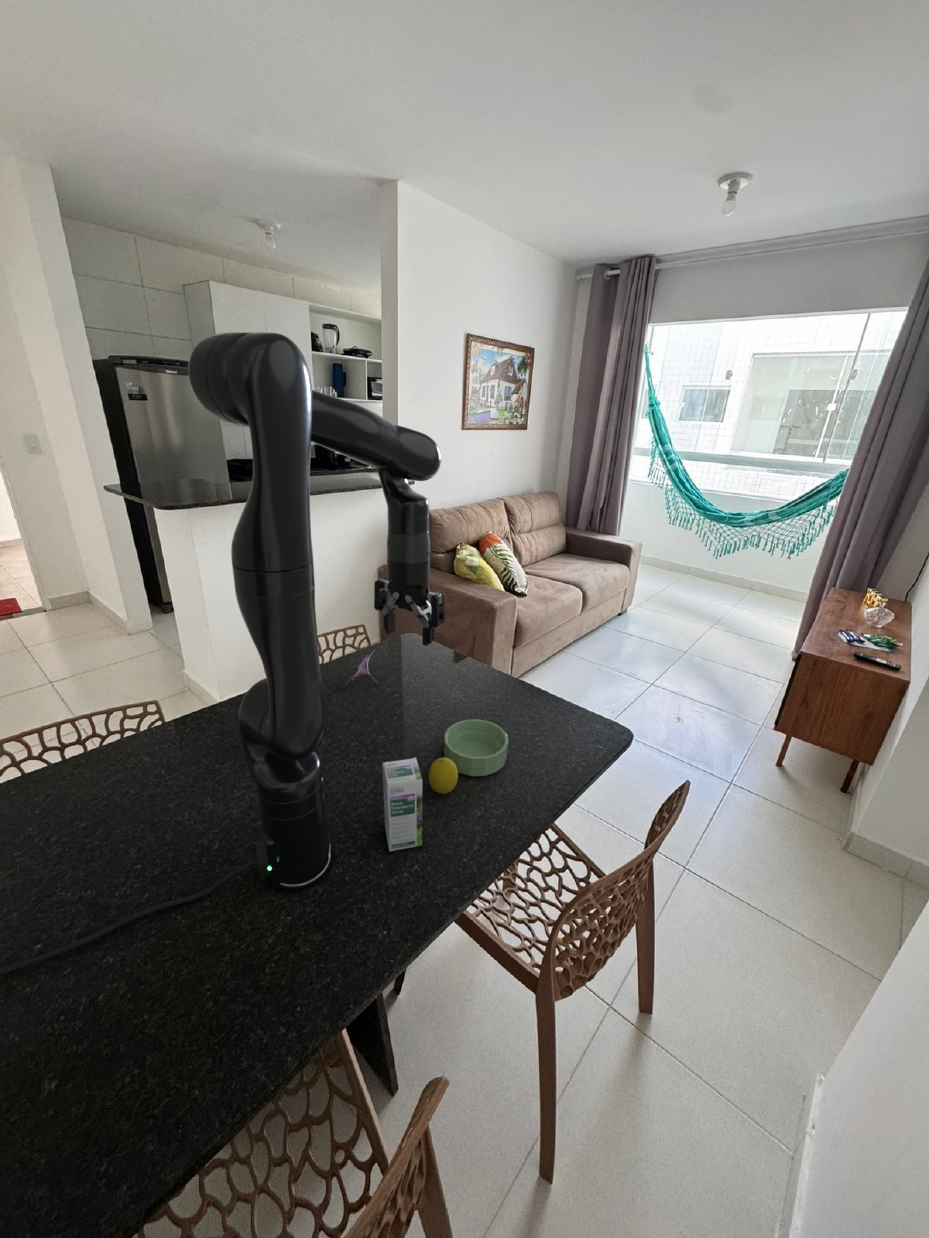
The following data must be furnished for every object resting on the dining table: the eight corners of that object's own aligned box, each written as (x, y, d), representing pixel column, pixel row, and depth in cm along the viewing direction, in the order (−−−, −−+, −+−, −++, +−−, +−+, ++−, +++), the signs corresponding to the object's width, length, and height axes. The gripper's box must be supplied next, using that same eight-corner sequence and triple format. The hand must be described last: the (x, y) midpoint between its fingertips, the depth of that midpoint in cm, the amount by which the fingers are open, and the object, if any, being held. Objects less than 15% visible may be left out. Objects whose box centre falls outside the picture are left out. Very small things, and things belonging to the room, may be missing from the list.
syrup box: (388, 852, 85) (386, 784, 79) (384, 826, 90) (382, 760, 84) (422, 846, 87) (423, 779, 81) (416, 820, 92) (416, 755, 86)
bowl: (460, 785, 100) (461, 765, 98) (434, 746, 111) (434, 727, 109) (517, 768, 106) (519, 748, 104) (487, 732, 117) (489, 714, 115)
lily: (374, 671, 142) (356, 644, 138) (401, 670, 134) (382, 641, 130) (346, 701, 134) (325, 673, 131) (372, 702, 126) (351, 672, 123)
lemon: (458, 783, 101) (460, 751, 98) (455, 804, 96) (456, 770, 93) (430, 781, 101) (431, 748, 98) (426, 801, 96) (426, 767, 93)
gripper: (362, 552, 90) (366, 635, 96) (430, 568, 83) (428, 656, 90) (389, 543, 96) (390, 622, 102) (454, 557, 89) (451, 640, 96)
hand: (408, 638), depth 96 cm, fingers open, 8 cm apart
